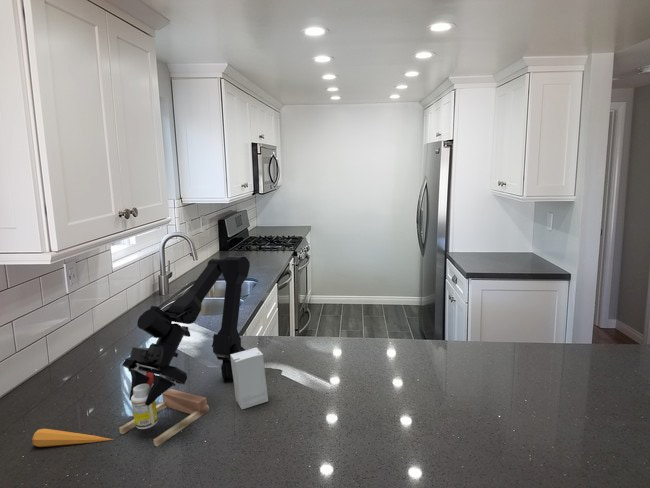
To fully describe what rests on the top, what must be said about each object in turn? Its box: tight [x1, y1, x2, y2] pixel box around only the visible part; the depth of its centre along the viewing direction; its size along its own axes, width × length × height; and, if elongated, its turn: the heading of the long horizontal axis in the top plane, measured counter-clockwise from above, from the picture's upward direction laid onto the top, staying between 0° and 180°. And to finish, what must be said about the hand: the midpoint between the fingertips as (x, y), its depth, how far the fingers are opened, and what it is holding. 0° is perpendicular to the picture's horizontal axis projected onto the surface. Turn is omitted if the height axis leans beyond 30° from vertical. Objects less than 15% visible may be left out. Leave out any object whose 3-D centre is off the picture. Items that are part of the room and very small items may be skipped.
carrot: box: [31, 428, 114, 448], centre depth 116 cm, size 20×4×4 cm, turn 91°
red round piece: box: [146, 372, 156, 388], centre depth 142 cm, size 6×6×8 cm
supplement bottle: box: [130, 384, 159, 430], centre depth 117 cm, size 6×6×10 cm
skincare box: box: [230, 347, 269, 410], centre depth 129 cm, size 8×6×15 cm
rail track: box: [118, 388, 210, 447], centre depth 123 cm, size 18×14×4 cm
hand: (138, 402), depth 115 cm, fingers closed on supplement bottle, 6 cm apart
